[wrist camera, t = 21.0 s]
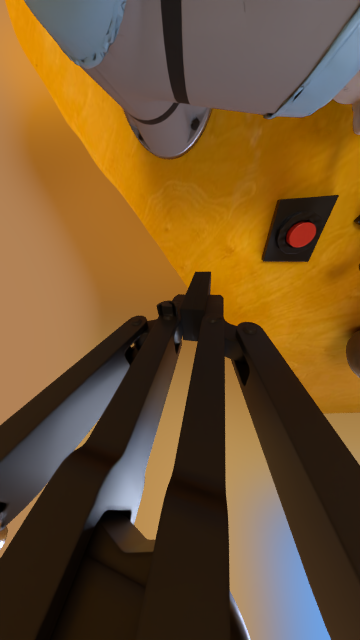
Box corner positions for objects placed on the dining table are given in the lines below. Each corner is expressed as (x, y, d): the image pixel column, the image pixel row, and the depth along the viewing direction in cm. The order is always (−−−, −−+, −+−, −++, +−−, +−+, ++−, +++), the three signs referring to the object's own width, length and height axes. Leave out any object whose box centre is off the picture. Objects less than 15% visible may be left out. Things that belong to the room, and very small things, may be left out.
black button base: (277, 199, 28) (283, 199, 25) (333, 195, 26) (346, 194, 23) (261, 259, 35) (264, 263, 32) (304, 259, 33) (312, 264, 30)
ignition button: (290, 222, 27) (294, 223, 26) (315, 221, 26) (321, 221, 25) (282, 245, 30) (285, 247, 28) (305, 245, 29) (309, 247, 27)
